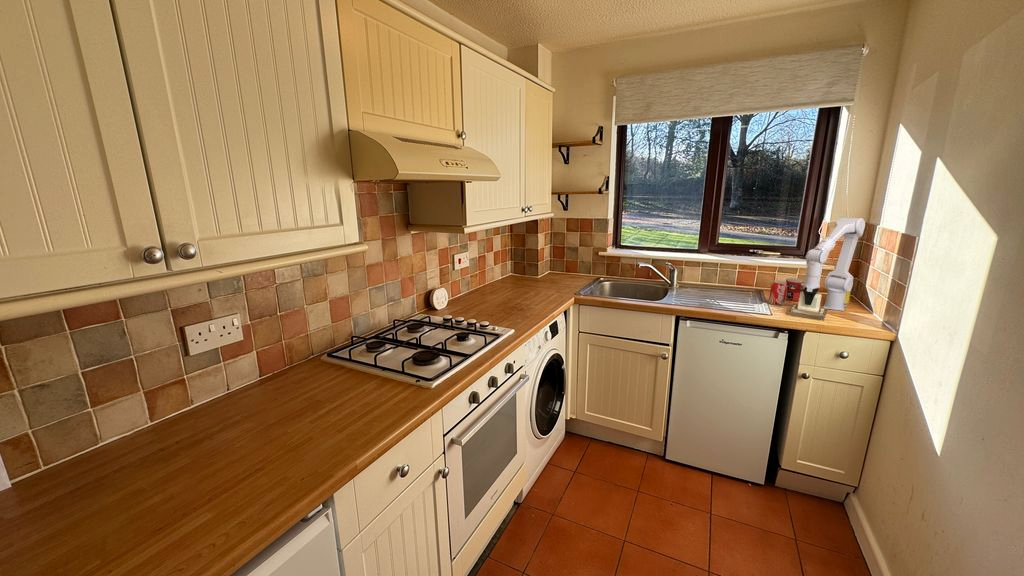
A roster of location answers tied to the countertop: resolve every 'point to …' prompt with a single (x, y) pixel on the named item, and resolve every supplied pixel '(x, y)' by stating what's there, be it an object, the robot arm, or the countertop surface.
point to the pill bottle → (847, 298)
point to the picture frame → (813, 306)
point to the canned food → (794, 289)
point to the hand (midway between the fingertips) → (808, 303)
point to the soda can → (778, 293)
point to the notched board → (807, 313)
